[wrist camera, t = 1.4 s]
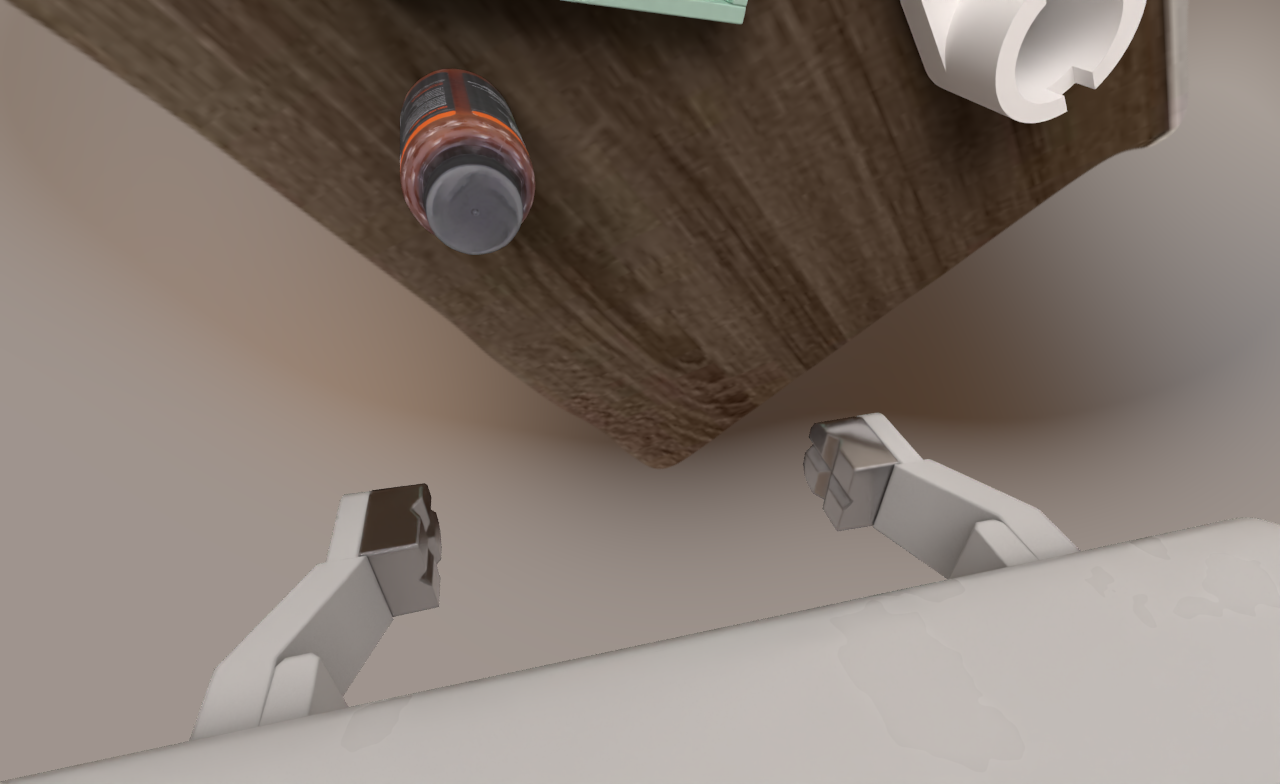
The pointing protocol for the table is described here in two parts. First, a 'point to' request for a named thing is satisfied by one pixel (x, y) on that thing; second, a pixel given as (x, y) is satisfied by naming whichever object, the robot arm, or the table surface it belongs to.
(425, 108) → the supplement bottle
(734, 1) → the organiser
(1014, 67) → the bracket
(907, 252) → the table surface
